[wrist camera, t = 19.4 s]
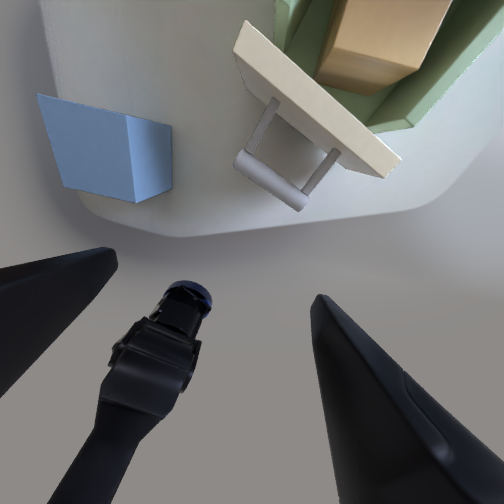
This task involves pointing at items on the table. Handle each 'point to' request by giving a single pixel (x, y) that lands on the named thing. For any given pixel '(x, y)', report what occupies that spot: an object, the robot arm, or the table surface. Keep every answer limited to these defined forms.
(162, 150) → the block
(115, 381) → the robot arm
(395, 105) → the drawer
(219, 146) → the table surface
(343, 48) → the block
